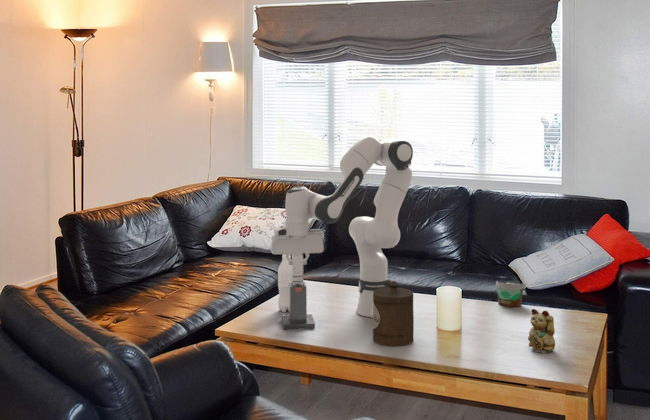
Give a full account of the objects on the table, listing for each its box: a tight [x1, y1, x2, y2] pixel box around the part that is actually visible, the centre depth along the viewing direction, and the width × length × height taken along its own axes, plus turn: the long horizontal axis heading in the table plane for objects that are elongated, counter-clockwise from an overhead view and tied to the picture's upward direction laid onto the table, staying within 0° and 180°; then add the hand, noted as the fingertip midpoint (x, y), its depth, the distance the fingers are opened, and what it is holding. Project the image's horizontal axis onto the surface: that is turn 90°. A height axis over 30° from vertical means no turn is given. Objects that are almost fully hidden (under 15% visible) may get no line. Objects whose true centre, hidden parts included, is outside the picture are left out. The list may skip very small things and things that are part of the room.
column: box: [291, 253, 304, 286], centre depth 306 cm, size 4×4×20 cm
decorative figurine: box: [527, 308, 556, 354], centre depth 278 cm, size 10×8×15 cm
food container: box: [495, 280, 526, 309], centre depth 332 cm, size 12×6×10 cm, turn 68°
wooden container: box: [372, 280, 415, 347], centre depth 288 cm, size 15×15×22 cm
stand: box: [281, 281, 316, 331], centre depth 307 cm, size 12×12×17 cm
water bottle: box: [277, 254, 292, 313], centre depth 325 cm, size 7×7×25 cm
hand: (297, 264), depth 305 cm, fingers closed on column, 4 cm apart
